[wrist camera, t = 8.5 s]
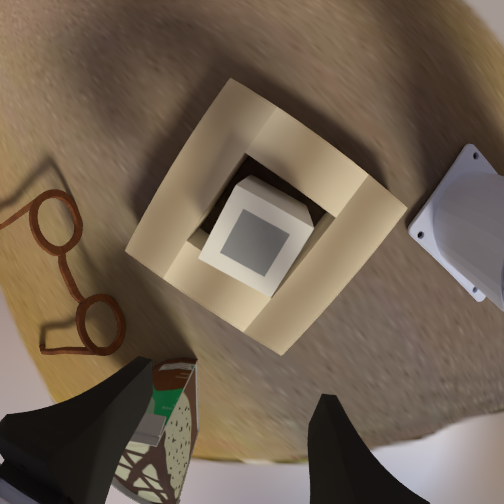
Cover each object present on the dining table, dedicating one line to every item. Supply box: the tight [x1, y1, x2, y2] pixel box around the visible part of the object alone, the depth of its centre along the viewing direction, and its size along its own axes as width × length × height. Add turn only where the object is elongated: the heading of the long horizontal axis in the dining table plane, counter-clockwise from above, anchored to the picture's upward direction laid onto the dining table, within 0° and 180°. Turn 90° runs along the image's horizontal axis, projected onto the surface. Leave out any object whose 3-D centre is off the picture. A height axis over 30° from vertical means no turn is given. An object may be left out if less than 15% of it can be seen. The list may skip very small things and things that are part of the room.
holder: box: [125, 78, 408, 356], centre depth 19 cm, size 12×12×3 cm
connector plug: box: [198, 175, 314, 298], centre depth 18 cm, size 4×4×6 cm
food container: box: [111, 358, 199, 504], centre depth 22 cm, size 12×6×10 cm, turn 175°
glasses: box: [0, 189, 125, 356], centre depth 22 cm, size 13×13×5 cm
